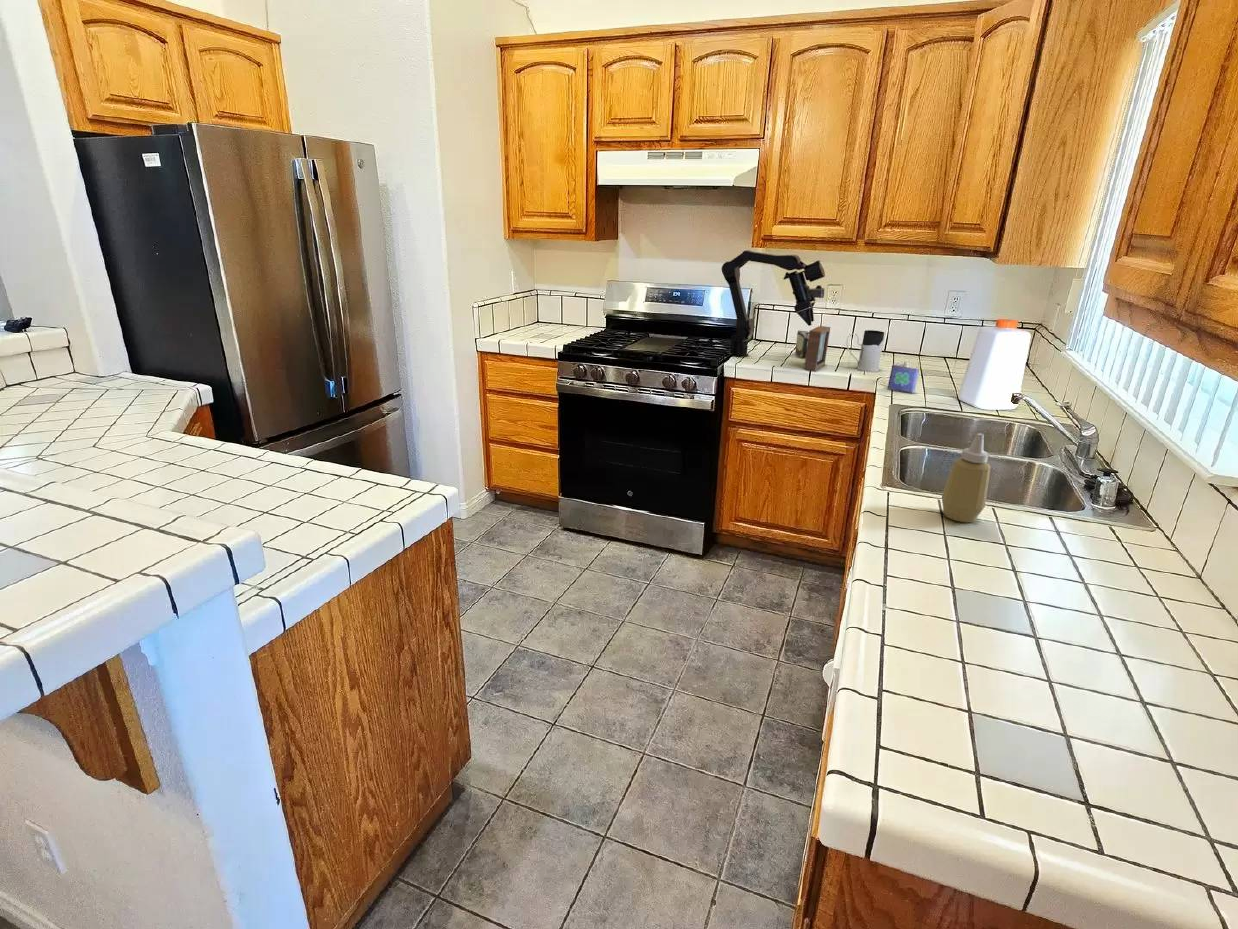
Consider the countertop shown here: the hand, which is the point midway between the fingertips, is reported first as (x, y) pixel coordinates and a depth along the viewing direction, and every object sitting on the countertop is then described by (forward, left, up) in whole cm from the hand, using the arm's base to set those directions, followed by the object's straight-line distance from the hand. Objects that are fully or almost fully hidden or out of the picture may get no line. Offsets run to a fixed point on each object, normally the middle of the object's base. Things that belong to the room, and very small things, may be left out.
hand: (811, 323), depth 261 cm
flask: (+46, -6, -17) cm, 49 cm away
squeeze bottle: (+110, -93, -17) cm, 145 cm away
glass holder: (+17, +13, -17) cm, 27 cm away
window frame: (+6, -2, -16) cm, 18 cm away
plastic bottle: (+71, +4, -17) cm, 73 cm away
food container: (-10, +12, -17) cm, 23 cm away
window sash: (+5, -6, -14) cm, 16 cm away
